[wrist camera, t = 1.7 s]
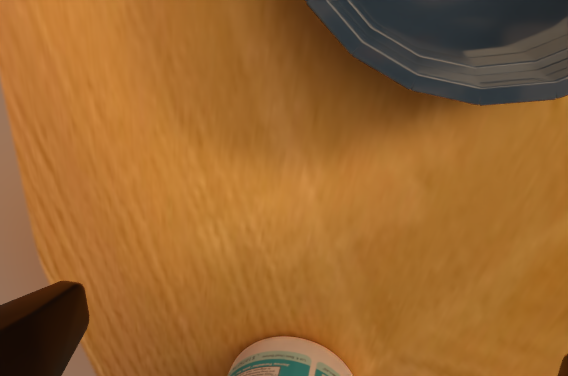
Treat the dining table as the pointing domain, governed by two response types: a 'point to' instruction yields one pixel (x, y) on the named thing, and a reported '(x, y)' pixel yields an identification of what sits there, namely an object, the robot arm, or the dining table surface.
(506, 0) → the dish
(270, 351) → the pill bottle
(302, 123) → the dining table surface
